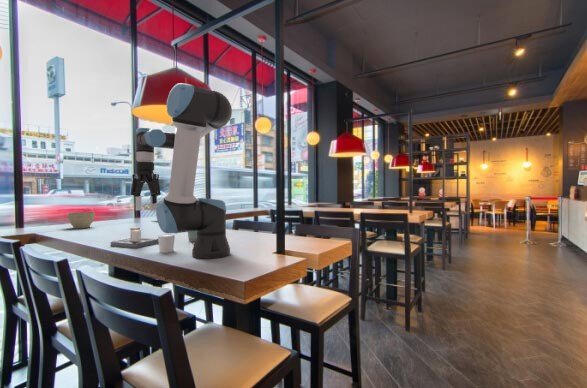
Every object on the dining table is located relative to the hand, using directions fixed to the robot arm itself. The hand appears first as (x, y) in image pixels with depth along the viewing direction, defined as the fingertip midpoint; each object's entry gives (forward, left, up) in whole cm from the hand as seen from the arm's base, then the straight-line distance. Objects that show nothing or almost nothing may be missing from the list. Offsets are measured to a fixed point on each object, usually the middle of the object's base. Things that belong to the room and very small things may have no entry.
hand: (145, 210), depth 141 cm
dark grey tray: (+10, -3, -17) cm, 20 cm away
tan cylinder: (+14, -7, -15) cm, 21 cm away
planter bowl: (+101, -42, -18) cm, 111 cm away
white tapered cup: (-16, +5, -17) cm, 24 cm away
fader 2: (+6, 0, -15) cm, 16 cm away
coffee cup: (-11, -21, -17) cm, 30 cm away
